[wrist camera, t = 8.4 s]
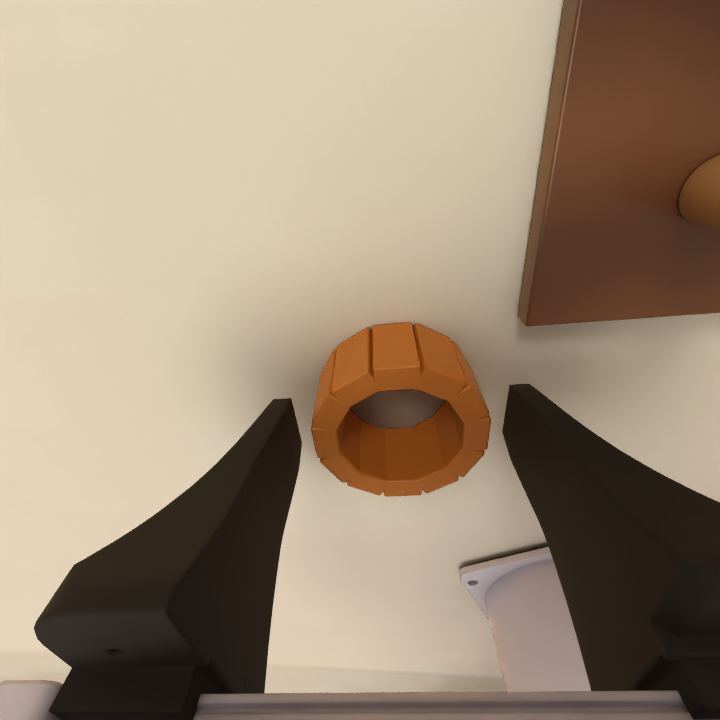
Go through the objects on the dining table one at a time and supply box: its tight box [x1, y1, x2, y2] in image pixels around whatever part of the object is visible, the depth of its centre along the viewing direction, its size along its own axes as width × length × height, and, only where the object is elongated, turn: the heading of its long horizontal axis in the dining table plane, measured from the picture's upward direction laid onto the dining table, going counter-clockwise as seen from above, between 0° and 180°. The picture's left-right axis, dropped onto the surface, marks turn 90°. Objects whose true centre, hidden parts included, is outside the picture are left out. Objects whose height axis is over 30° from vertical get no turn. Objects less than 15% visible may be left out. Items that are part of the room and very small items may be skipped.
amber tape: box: [311, 323, 491, 496], centre depth 13 cm, size 5×5×3 cm
